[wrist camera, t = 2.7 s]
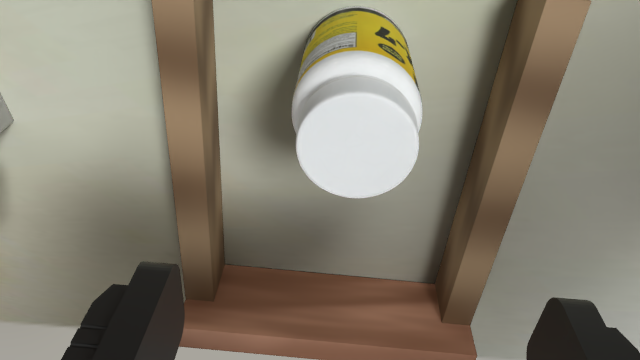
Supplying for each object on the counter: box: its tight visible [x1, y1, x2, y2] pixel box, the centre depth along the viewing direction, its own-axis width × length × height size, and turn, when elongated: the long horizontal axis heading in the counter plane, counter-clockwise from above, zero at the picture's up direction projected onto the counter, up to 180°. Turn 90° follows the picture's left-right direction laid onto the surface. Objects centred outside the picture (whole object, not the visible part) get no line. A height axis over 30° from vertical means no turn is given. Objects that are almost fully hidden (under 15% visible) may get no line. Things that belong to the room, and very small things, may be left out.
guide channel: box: [152, 0, 591, 360], centre depth 24 cm, size 20×16×5 cm
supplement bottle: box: [292, 6, 422, 198], centre depth 20 cm, size 5×5×8 cm
